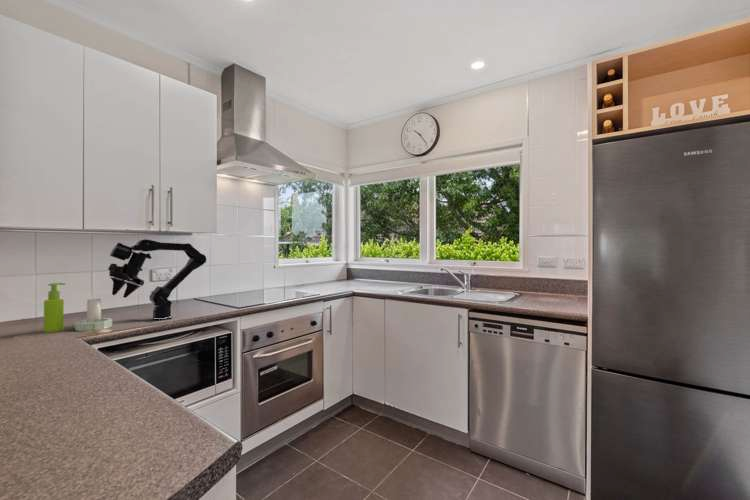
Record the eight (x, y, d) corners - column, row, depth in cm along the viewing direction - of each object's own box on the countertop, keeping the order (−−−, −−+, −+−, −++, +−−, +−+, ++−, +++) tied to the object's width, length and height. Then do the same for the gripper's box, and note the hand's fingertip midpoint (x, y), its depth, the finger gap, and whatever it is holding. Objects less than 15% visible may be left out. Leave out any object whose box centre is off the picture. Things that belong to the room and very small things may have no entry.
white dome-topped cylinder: (101, 324, 150) (101, 298, 150) (100, 326, 146) (100, 299, 146) (88, 326, 147) (87, 299, 147) (86, 328, 143) (86, 300, 143)
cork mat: (107, 329, 145) (107, 327, 145) (116, 332, 140) (116, 331, 140) (77, 333, 137) (77, 332, 137) (85, 337, 131) (85, 335, 131)
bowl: (106, 324, 155) (106, 317, 155) (115, 328, 148) (115, 320, 148) (71, 329, 145) (71, 321, 145) (80, 333, 138) (80, 324, 138)
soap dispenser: (69, 329, 145) (69, 282, 145) (52, 333, 138) (53, 284, 138) (57, 329, 145) (57, 282, 145) (39, 333, 138) (40, 283, 139)
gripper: (128, 263, 169) (112, 293, 164) (106, 254, 151) (87, 288, 146) (150, 270, 170) (136, 300, 165) (131, 261, 152) (114, 295, 147)
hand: (119, 296), depth 156 cm, fingers open, 9 cm apart
